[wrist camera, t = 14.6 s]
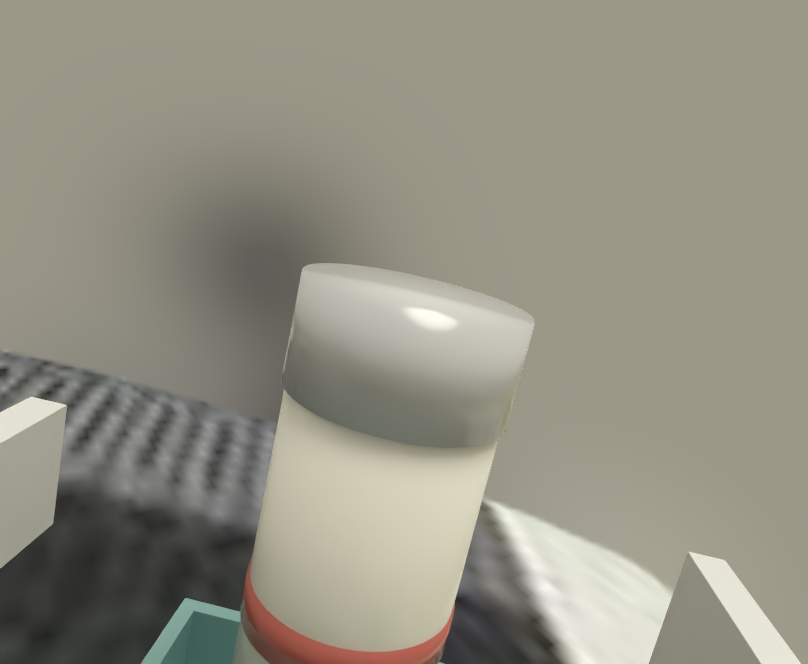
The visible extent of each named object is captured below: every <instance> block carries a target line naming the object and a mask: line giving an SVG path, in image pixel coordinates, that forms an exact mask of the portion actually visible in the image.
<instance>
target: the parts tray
mask: <svg viewBox="0 0 808 664" xmlns="http://www.w3.org/2000/svg"><path fill="white" fill-rule="evenodd" d="M240 618H241V615H240V612H239V611H235V610H231V609H227V608H223V607H219V606H215V605H211V604H207V603H203V602H199V601H195V600H191V599H187V598H185V599H184V601H183V602H182V604H181V605H180V607H179V608H178V609H177V611H176V612H175V614H174V615H173V617H172V618H171V620H170V621H169V623H168V624H167V626H166V627H165V629H164V630H163V632H162V633H161V635H160V636H159V638H158V639H157V641H156V642H155V643H154V645H153V646H152V648H151V649H150V651H149V652H148V654H147V655H146V657H145V658H144V660H143V661H142V663H141V664H232V660H233V655H234V650H235V645H236V639H237V634H238V629H239V624H240ZM438 664H444V663H440V662H439V663H438Z"/></svg>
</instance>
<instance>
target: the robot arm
mask: <svg viewBox="0 0 808 664" xmlns="http://www.w3.org/2000/svg"><path fill="white" fill-rule="evenodd" d="M66 409H67V405H64V404H60V403H56V402H51V401H47V400H43V399H39V398H34V397H30V398H28V399H26V400H24V401H22V402H20V403H18V404H16V405H14V406H12V407H10V408H8V409H6V410H4V411H2V412H0V568H1V567H3V566H4V565H5V564H6V563H7V562H8V561H10V560H11V559H12V558H13V557H14V556H16V555H17V554H18V553H19V552H20V551H21V550H23V549H24V548H25V547H26V546H27V545H28V544H30V543H31V542H32V541H33V540H34V539H35V538H37V537H38V536H39V535H40V534H41V533H43V532H44V531H45V530H46V529H47V528H48V527H50V526H51V525H52V524H53V519H54V511H55V502H56V494H57V485H58V477H59V468H60V460H61V451H62V443H63V434H64V426H65V417H66ZM649 664H801V663H800V662H799V660H798V659H797V658H796V656H795V655H794V654H793V652H792V651H791V649H790V648H789V647H788V645H787V644H786V643H785V641H784V640H783V639H782V637H781V636H780V635H779V633H778V632H777V631H776V629H775V628H774V626H773V625H772V624H771V622H770V621H769V620H768V618H767V617H766V615H765V614H764V613H763V611H762V610H761V609H760V607H759V606H758V605H757V603H756V602H755V601H754V599H753V598H752V596H751V595H750V594H749V592H748V591H747V590H746V588H745V587H744V586H743V584H742V583H741V582H740V580H739V579H738V577H737V576H736V575H735V573H734V572H733V571H732V569H731V568H730V567H729V565H728V564H727V562H726V561H725V560H721V559H717V558H713V557H709V556H704V555H700V554H696V553H692V552H688V553H687V556H686V559H685V562H684V565H683V568H682V570H681V573H680V576H679V579H678V582H677V585H676V588H675V590H674V593H673V596H672V599H671V602H670V605H669V608H668V610H667V613H666V616H665V619H664V622H663V625H662V628H661V631H660V633H659V636H658V639H657V642H656V645H655V648H654V651H653V653H652V656H651V659H650V662H649Z"/></svg>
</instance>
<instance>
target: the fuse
mask: <svg viewBox="0 0 808 664" xmlns="http://www.w3.org/2000/svg"><path fill="white" fill-rule="evenodd" d="M534 324H535V320H534V319H533V317H531V316H530V315H529V314H528V313H526V312H525V311H523V310H521V309H519V308H517V307H515V306H513V305H511V304H509V303H506V302H504V301H501V300H499V299H496V298H493V297H491V296H488V295H485V294H482V293H479V292H476V291H473V290H469V289H466V288H463V287H460V286H456V285H452V284H448V283H445V282H441V281H437V280H433V279H429V278H425V277H420V276H416V275H411V274H407V273H401V272H396V271H391V270H384V269H379V268H373V267H366V266H357V265H349V264H335V263H319V264H311V265H307V266H305V267H304V268H303V269H302V274H301V279H300V284H299V290H298V295H297V300H296V306H295V311H294V316H293V321H292V326H291V332H290V337H289V342H288V348H287V353H286V358H285V363H284V369H283V374H282V385H283V387H284V394H283V399H282V404H281V410H280V415H279V420H278V425H277V430H276V436H275V441H274V446H273V451H272V456H271V462H270V467H269V472H268V477H267V483H266V488H265V493H264V498H263V503H262V509H261V514H260V519H259V524H258V530H257V535H256V540H255V545H254V551H253V555H252V557H251V559H250V562H249V565H248V570H247V575H246V581H245V586H244V591H243V596H242V602H241V611H240V615H241V618H240V624H239V629H238V634H237V639H236V645H235V650H234V655H233V660H232V664H438V663H439V661H440V659H441V657H442V655H443V651H444V647H445V644H446V640H447V636H448V633H449V629H450V625H451V621H452V618H453V614H454V609H455V598H456V594H457V591H458V587H459V583H460V579H461V576H462V572H463V568H464V565H465V561H466V557H467V554H468V550H469V546H470V542H471V539H472V535H473V531H474V528H475V524H476V520H477V516H478V513H479V509H480V505H481V502H482V498H483V494H484V490H485V487H486V483H487V479H488V476H489V471H490V468H491V465H492V461H493V457H494V453H495V450H496V446H497V442H498V439H499V438H500V437H501V436H503V434H504V433H505V431H506V427H507V424H508V420H509V416H510V413H511V409H512V405H513V402H514V398H515V394H516V390H517V386H518V383H519V379H520V376H521V372H522V368H523V365H524V361H525V357H526V353H527V350H528V346H529V343H530V339H531V335H532V332H533V328H534Z"/></svg>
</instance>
